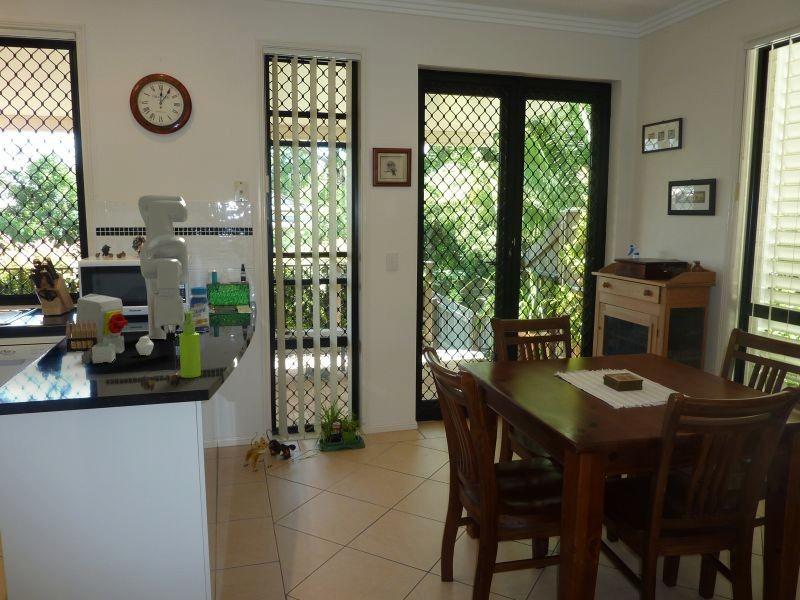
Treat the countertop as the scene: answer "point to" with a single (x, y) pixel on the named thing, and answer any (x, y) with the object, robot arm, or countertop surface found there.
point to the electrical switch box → (101, 314)
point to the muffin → (144, 346)
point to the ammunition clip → (80, 336)
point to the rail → (104, 350)
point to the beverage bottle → (200, 308)
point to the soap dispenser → (189, 349)
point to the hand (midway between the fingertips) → (171, 343)
